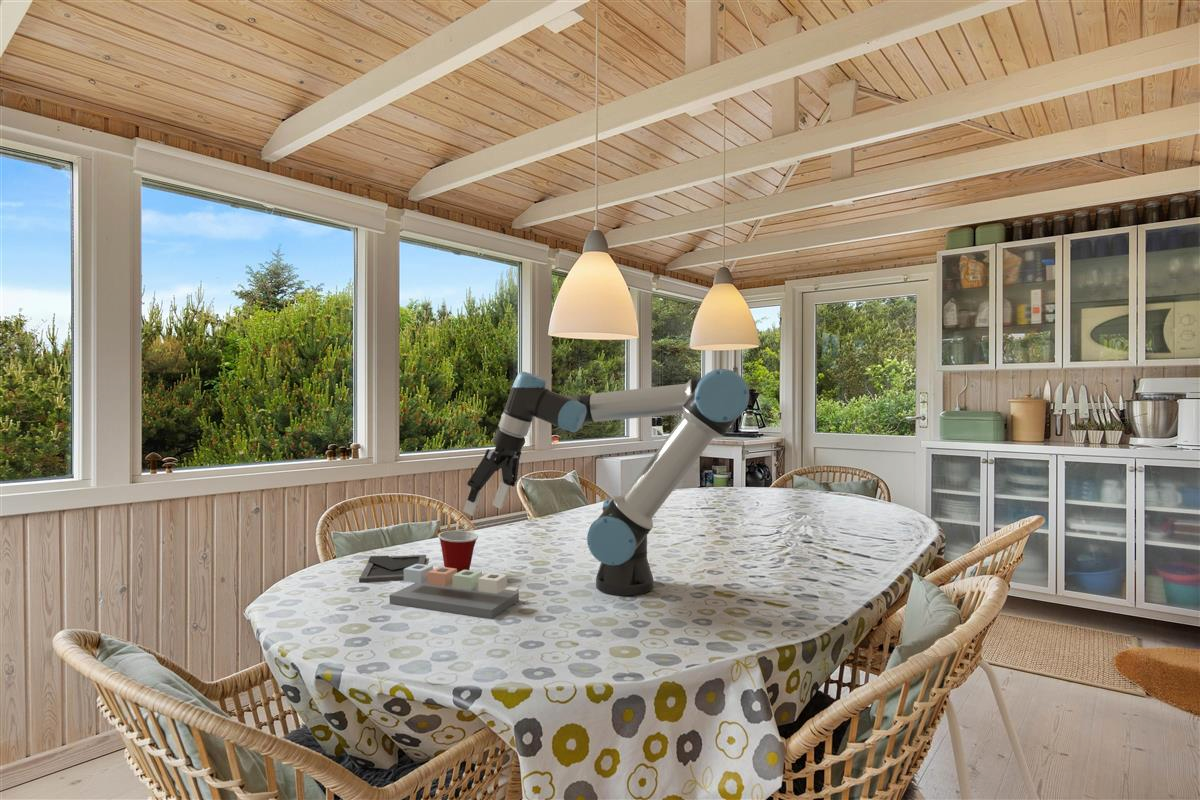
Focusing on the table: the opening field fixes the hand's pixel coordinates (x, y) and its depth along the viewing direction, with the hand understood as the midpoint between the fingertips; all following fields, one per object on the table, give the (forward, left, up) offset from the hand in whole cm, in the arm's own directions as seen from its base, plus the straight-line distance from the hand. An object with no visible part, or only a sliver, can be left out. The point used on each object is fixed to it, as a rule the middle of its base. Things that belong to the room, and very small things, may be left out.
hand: (483, 510), depth 156 cm
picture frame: (+34, -9, -22) cm, 41 cm away
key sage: (-1, +8, -17) cm, 19 cm away
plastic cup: (+13, -9, -21) cm, 26 cm away
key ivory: (-8, +8, -17) cm, 20 cm away
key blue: (+13, +8, -17) cm, 23 cm away
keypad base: (+3, +8, -21) cm, 23 cm away
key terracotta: (+6, +8, -17) cm, 20 cm away
